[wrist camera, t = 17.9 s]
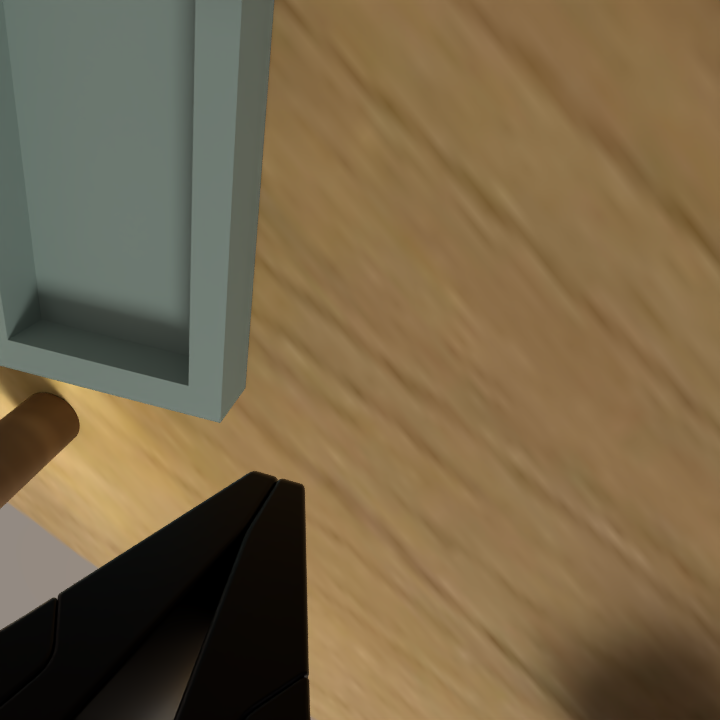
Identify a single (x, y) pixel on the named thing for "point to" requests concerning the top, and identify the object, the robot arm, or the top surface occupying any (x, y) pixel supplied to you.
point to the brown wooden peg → (33, 439)
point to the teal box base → (132, 194)
